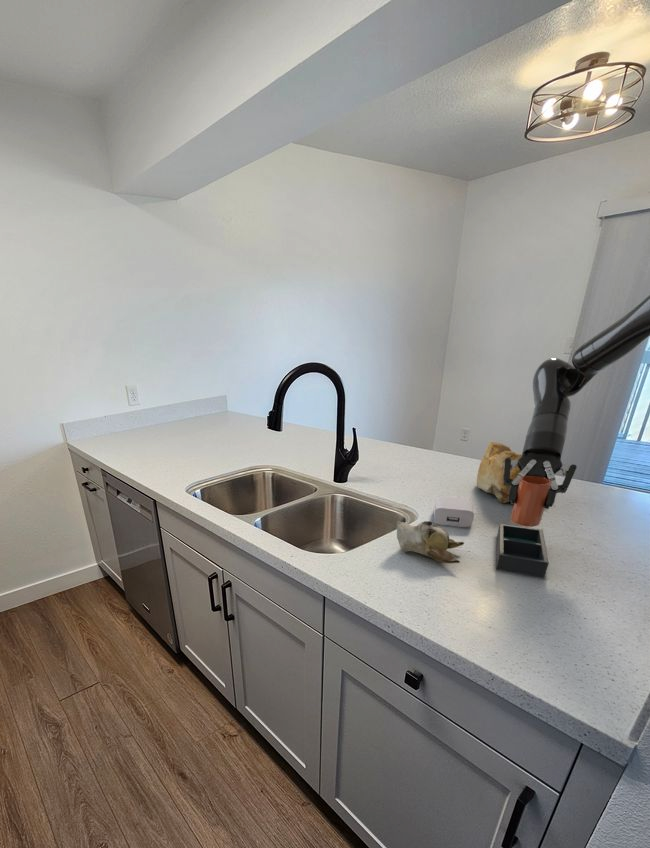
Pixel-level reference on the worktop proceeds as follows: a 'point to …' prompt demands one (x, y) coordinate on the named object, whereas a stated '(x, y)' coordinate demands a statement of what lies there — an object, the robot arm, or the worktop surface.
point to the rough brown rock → (496, 471)
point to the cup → (530, 500)
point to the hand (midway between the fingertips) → (529, 504)
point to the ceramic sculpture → (427, 541)
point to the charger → (453, 511)
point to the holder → (521, 550)
